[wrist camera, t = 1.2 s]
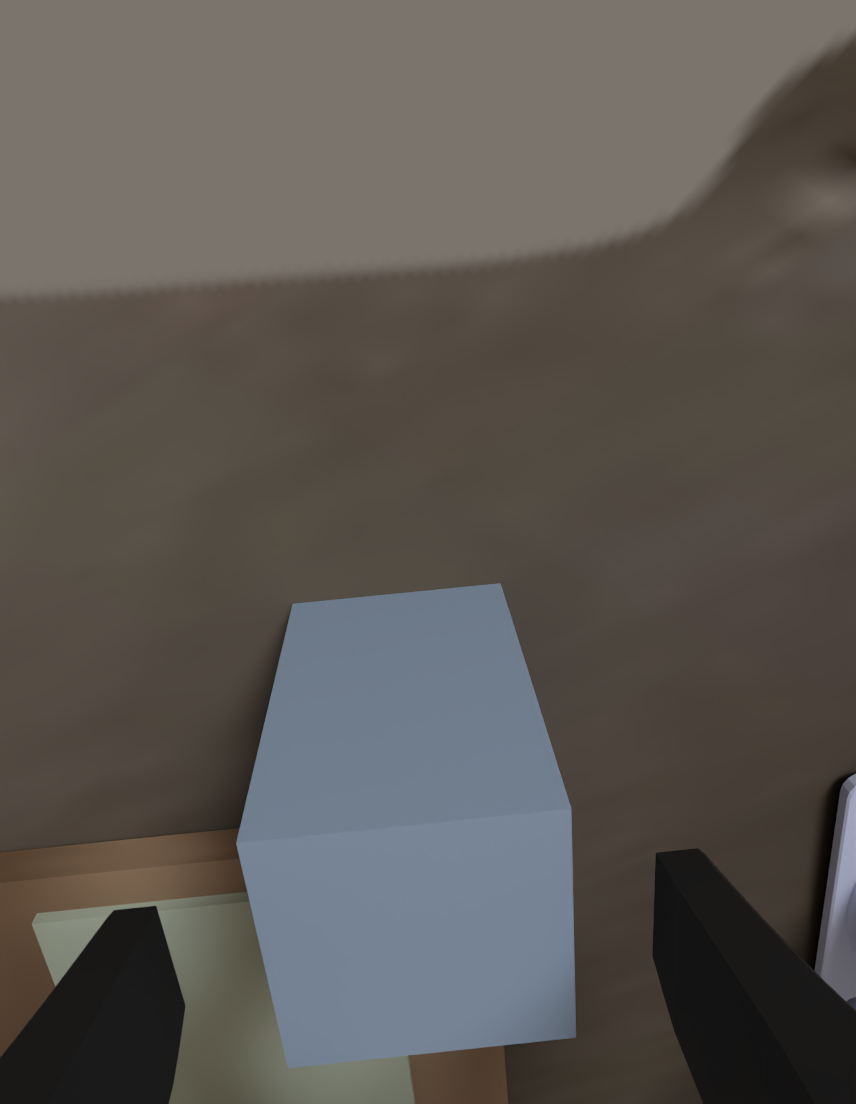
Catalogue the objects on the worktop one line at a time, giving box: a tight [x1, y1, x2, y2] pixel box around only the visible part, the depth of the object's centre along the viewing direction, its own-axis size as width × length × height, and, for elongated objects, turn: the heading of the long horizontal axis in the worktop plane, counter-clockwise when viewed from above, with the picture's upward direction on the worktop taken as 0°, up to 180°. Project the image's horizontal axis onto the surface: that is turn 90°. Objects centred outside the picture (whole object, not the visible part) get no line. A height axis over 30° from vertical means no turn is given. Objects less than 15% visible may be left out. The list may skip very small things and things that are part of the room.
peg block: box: [236, 584, 576, 1068], centre depth 15 cm, size 4×4×7 cm
